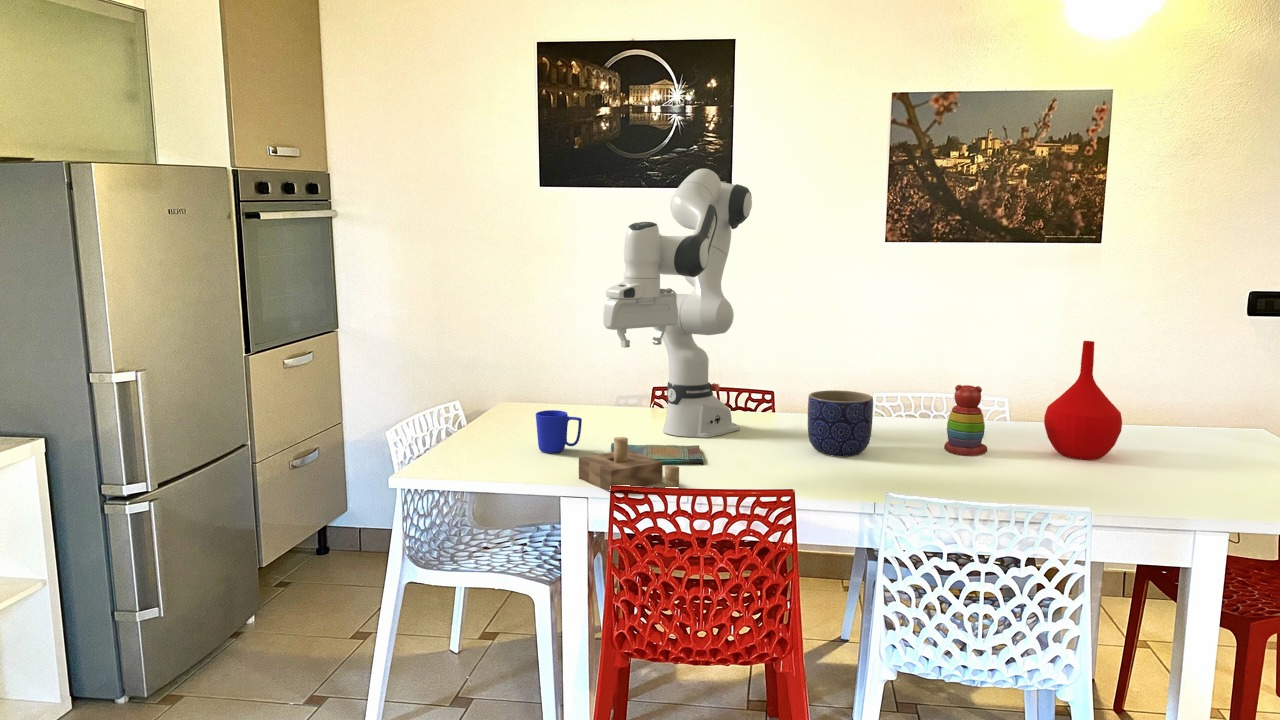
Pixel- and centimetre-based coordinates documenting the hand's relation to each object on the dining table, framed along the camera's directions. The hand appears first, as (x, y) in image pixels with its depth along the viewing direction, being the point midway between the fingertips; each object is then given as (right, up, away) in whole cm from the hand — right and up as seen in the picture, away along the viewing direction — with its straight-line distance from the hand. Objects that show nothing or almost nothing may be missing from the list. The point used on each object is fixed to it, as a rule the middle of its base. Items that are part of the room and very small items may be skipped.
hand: (641, 345), depth 239 cm
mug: (-21, -27, +14) cm, 37 cm away
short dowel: (+7, -33, -20) cm, 39 cm away
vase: (+114, -28, +13) cm, 118 cm away
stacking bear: (+85, -28, +17) cm, 91 cm away
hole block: (-5, -31, -13) cm, 34 cm away
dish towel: (+4, -29, +10) cm, 31 cm away
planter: (+52, -28, +16) cm, 61 cm away
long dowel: (-5, -31, -13) cm, 34 cm away
